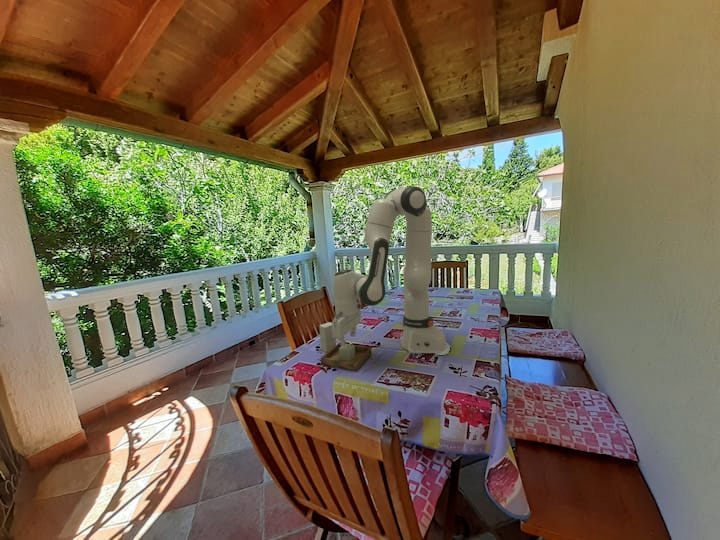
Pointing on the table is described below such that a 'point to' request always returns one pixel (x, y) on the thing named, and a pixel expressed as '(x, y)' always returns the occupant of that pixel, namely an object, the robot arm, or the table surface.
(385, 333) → the table surface
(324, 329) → the skincare box
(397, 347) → the table surface
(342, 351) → the sage block
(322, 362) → the walnut tray
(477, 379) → the table surface
